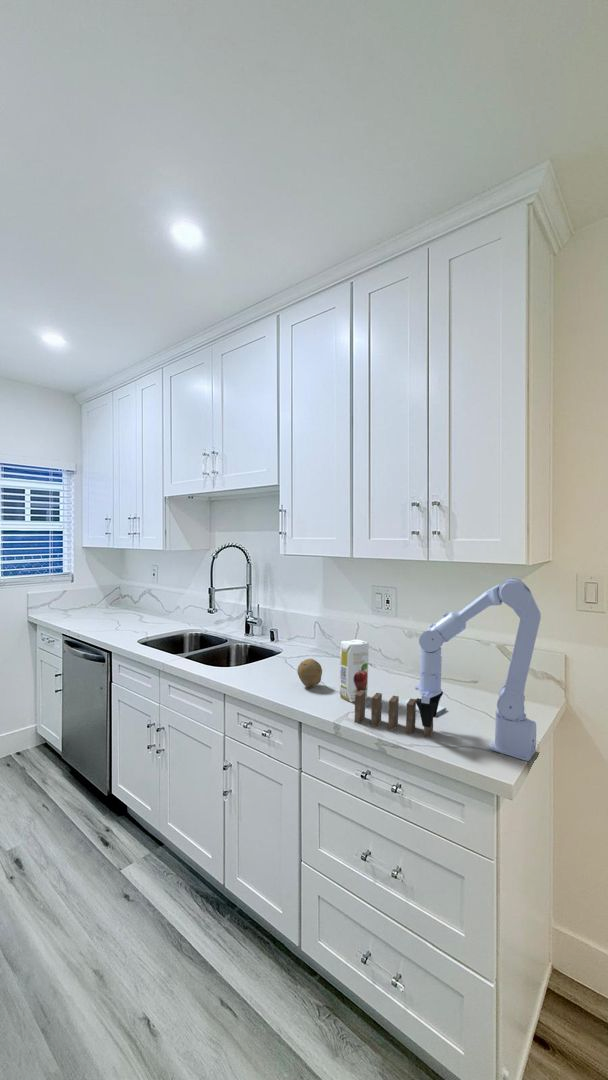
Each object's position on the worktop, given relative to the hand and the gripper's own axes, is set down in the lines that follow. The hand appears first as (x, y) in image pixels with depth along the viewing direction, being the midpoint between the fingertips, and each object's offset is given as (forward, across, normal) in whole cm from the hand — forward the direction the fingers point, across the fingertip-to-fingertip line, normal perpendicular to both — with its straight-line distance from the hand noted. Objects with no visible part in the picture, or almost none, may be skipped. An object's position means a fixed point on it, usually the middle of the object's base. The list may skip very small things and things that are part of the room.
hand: (429, 721), depth 130 cm
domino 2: (+3, 0, -15) cm, 15 cm away
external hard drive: (+4, -19, -5) cm, 20 cm away
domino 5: (+3, 0, 0) cm, 3 cm away
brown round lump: (+3, -20, -45) cm, 50 cm away
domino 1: (+3, 0, -20) cm, 20 cm away
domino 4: (+3, 0, -5) cm, 6 cm away
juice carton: (+3, -17, -28) cm, 33 cm away
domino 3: (+3, 0, -10) cm, 11 cm away
